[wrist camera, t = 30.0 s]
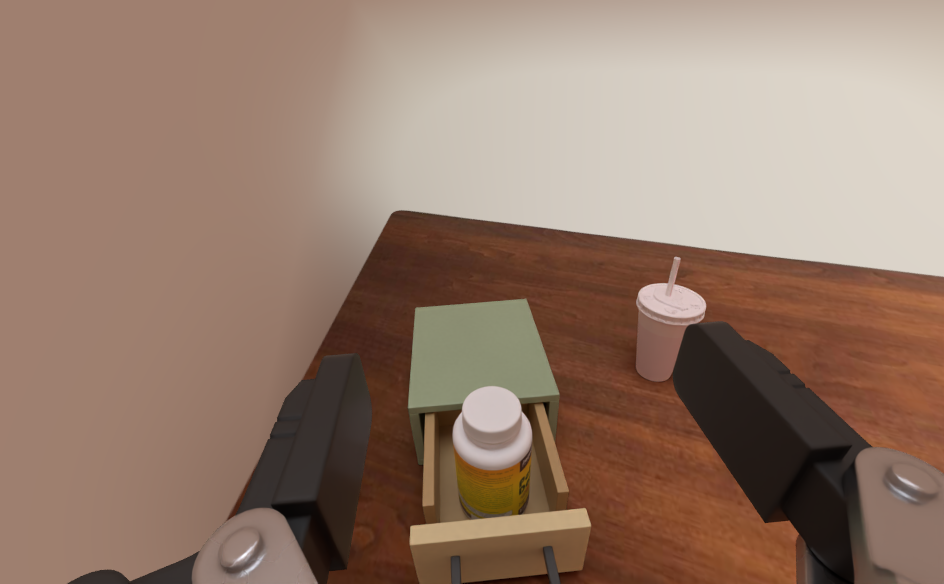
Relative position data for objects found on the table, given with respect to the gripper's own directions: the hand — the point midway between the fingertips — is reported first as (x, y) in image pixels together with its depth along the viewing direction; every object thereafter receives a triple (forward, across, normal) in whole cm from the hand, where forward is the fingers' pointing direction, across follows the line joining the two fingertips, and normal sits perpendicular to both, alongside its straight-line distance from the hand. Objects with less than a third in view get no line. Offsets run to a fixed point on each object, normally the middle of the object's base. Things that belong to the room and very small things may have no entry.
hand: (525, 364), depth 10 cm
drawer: (+10, 0, -25) cm, 27 cm away
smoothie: (+25, +20, -26) cm, 41 cm away
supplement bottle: (+11, 0, -24) cm, 27 cm away
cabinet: (+23, 0, -26) cm, 35 cm away
